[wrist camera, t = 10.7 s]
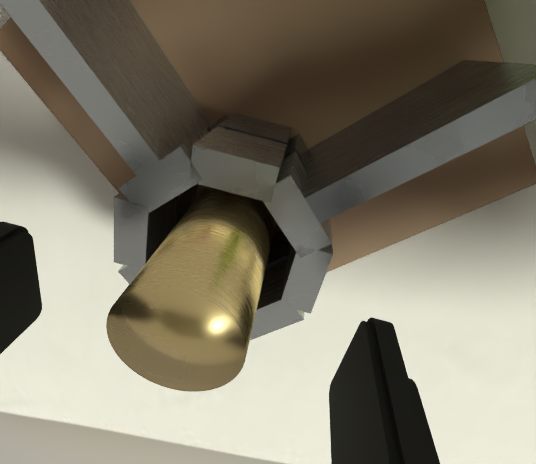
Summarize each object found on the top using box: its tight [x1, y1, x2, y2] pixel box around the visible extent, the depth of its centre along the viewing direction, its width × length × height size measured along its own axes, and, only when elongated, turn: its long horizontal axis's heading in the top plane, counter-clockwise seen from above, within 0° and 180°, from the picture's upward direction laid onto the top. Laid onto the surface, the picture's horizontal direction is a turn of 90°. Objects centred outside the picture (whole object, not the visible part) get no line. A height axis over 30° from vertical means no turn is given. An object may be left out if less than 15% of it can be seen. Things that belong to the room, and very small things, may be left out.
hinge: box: [0, 0, 536, 340], centre depth 12 cm, size 15×15×6 cm
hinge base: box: [0, 0, 536, 272], centre depth 16 cm, size 18×18×1 cm
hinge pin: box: [107, 186, 276, 391], centre depth 13 cm, size 4×4×10 cm
